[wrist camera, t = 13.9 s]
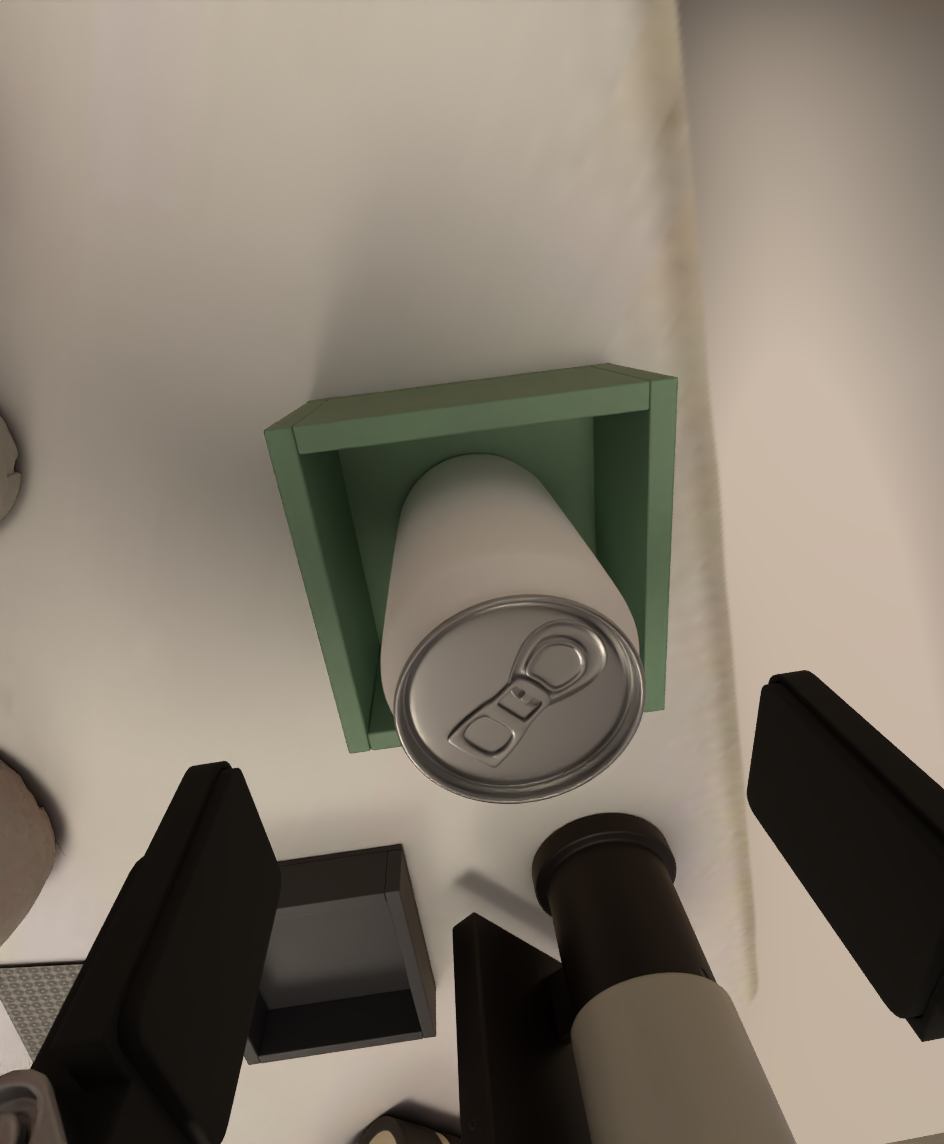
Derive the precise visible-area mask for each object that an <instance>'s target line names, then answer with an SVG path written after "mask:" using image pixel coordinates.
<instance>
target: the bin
mask: <svg viewBox="0 0 944 1144" xmlns="http://www.w3.org/2000/svg"><path fill="white" fill-rule="evenodd" d="M677 389H678V378H677V377H673V376H668V375H663V374H658V373H653V372H648V371H643V370H639V369H634V368H629V367H624V366H619V365H614V364H610V363H606V364H598V365H590V366H582V367H574V368H566V369H558V370H550V371H542V372H534V373H527V374H519V375H511V376H503V377H495V378H487V379H479V380H471V381H463V382H455V383H447V384H440V385H432V386H424V387H416V388H408V389H400V390H392V391H384V392H376V393H368V394H360V395H352V396H345V397H337V398H329V399H321V400H313V401H308V402H307V403H306V404H304V405H303V406H301V407H300V408H298V409H297V410H295V411H294V412H292V413H290V414H289V415H287V416H286V417H284V418H283V419H281V420H279V421H278V422H276V423H275V424H273V425H272V426H270V427H269V428H267V429H265V430H264V435H265V439H266V443H267V446H268V450H269V454H270V458H271V461H272V465H273V469H274V473H275V476H276V480H277V484H278V488H279V491H280V495H281V499H282V503H283V506H284V510H285V514H286V518H287V521H288V525H289V529H290V533H291V536H292V540H293V544H294V548H295V551H296V555H297V559H298V563H299V566H300V570H301V574H302V578H303V581H304V585H305V589H306V593H307V596H308V600H309V604H310V608H311V611H312V615H313V619H314V623H315V626H316V630H317V634H318V638H319V641H320V645H321V649H322V653H323V656H324V660H325V664H326V668H327V671H328V675H329V679H330V683H331V686H332V690H333V694H334V698H335V701H336V705H337V709H338V713H339V716H340V720H341V724H342V728H343V731H344V735H345V739H346V743H347V746H348V750H349V753H358V752H365V751H370V749H372V750H378V749H386V748H393V747H400V746H402V745H401V743H400V741H399V738H398V735H397V732H396V728H395V723H394V716H393V714H392V712H391V710H390V707H389V705H388V703H387V700H386V697H385V694H384V690H383V686H382V679H381V647H382V637H383V629H384V621H385V614H386V606H387V599H388V591H389V584H390V577H391V570H392V563H393V556H394V550H395V543H396V536H397V530H398V524H399V519H400V514H401V511H402V507H403V505H404V502H405V500H406V498H407V496H408V494H409V492H410V491H411V489H412V488H413V486H414V485H415V484H416V482H417V481H418V480H419V479H420V478H421V477H422V476H423V475H424V474H425V473H426V472H428V471H429V470H430V469H432V468H433V467H435V466H436V465H438V464H440V463H442V462H444V461H446V460H448V459H451V458H454V457H457V456H461V455H467V454H491V455H496V456H500V457H503V458H506V459H508V460H510V461H513V462H515V463H517V464H518V465H520V466H522V467H523V468H525V469H526V470H528V471H529V472H530V473H532V474H533V475H534V476H535V477H536V478H537V479H538V480H539V481H540V482H541V483H542V485H543V486H544V487H545V488H546V490H547V491H548V492H549V494H550V495H551V496H552V498H553V499H554V500H555V502H556V503H557V504H558V506H559V507H560V509H561V510H562V511H563V513H564V514H565V515H566V517H567V518H568V520H569V521H570V522H571V524H572V525H573V526H574V528H575V529H576V531H577V532H578V533H579V535H580V536H581V538H582V539H583V540H584V542H585V543H586V544H587V546H588V547H589V549H590V550H591V551H592V553H593V554H594V556H595V557H596V558H597V560H598V561H599V563H600V564H601V566H602V567H603V568H604V570H605V571H606V573H607V574H608V576H609V577H610V578H611V580H612V581H613V583H614V584H615V586H616V587H617V589H618V590H619V592H620V594H621V595H622V597H623V598H624V600H625V602H626V604H627V606H628V608H629V610H630V612H631V615H632V617H633V619H634V622H635V625H636V629H637V634H638V640H639V657H640V659H641V662H642V665H643V669H644V673H645V679H646V701H645V707H644V711H643V712H651V711H658V710H664V704H665V680H666V656H667V631H668V607H669V583H670V559H671V534H672V510H673V486H674V462H675V437H676V413H677Z"/></svg>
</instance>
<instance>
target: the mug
mask: <svg viewBox="0 0 944 1144" xmlns="http://www.w3.org/2000/svg"><path fill="white" fill-rule="evenodd" d="M17 456H18V451H17V448H16V446H15V443H14V440H13V438H12V436H11V434H10V432H9V430H8V428H7V426H6V424H5V422H4V420H3V418H2V417H1V415H0V520H1V519H2V518H3V517H4V516H5V515H6V514H7V513H8V512H9V510H10V509H11V508H12V506H13V504H14V503H15V501H16V498H17V495H18V491H19V488H20V483H21V475H20V473H17V472H14V465H15V460H16V459H17Z"/></svg>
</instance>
